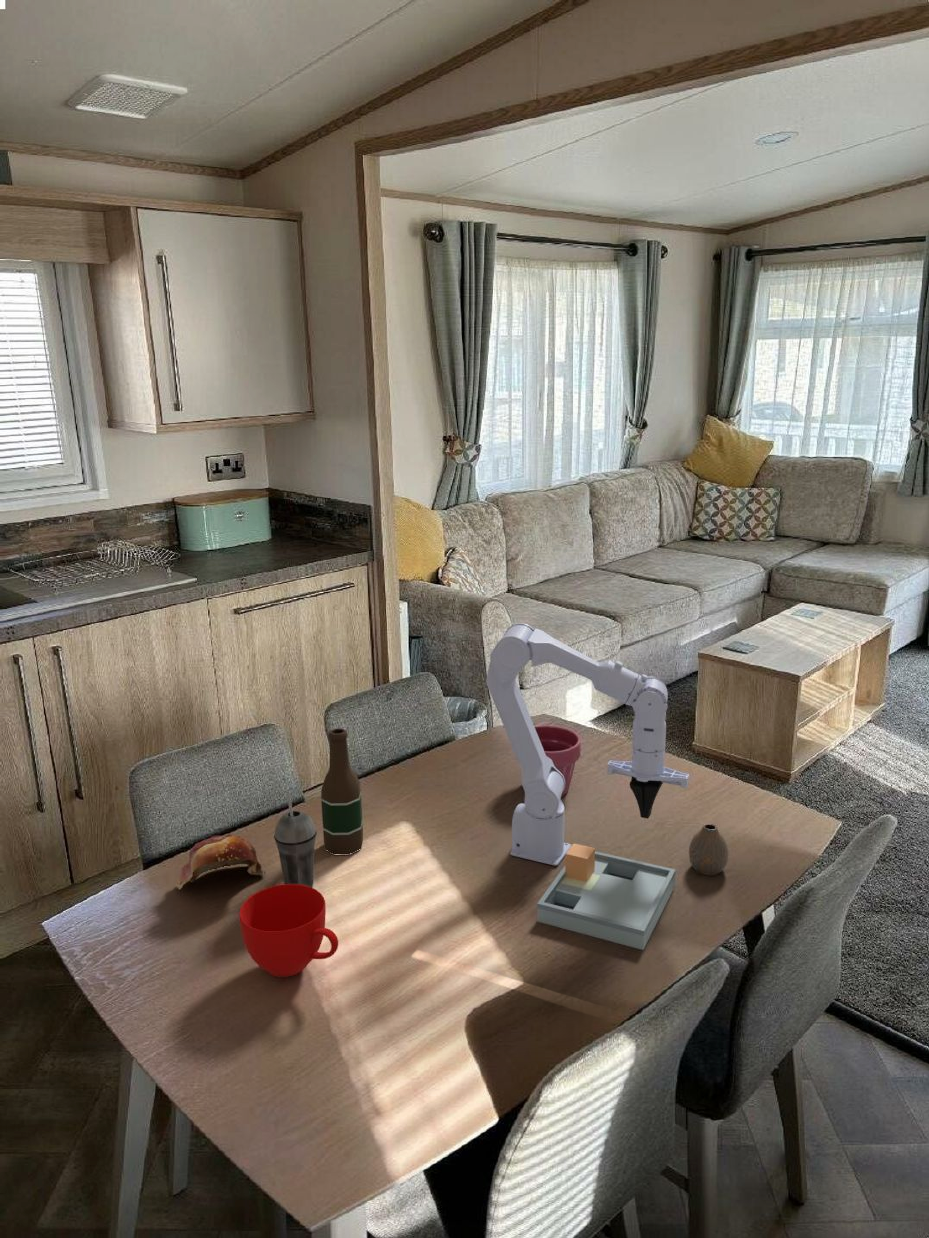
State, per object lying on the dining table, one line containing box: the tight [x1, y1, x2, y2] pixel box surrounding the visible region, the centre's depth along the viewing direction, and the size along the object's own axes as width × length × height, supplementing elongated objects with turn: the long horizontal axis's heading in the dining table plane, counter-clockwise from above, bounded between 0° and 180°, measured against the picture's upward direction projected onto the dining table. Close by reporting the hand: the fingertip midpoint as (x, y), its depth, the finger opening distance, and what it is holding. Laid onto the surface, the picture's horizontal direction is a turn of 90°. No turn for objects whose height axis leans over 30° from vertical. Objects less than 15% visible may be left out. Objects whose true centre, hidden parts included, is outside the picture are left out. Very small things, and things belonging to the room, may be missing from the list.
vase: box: [688, 823, 729, 877], centre depth 163 cm, size 7×7×9 cm
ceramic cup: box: [238, 883, 339, 978], centre depth 138 cm, size 13×17×10 cm
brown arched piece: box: [178, 833, 264, 890], centre depth 161 cm, size 16×13×10 cm
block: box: [564, 843, 596, 882], centre depth 159 cm, size 4×4×4 cm
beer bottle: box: [320, 728, 364, 855], centre depth 172 cm, size 8×8×24 cm
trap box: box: [536, 850, 677, 951], centre depth 154 cm, size 18×20×3 cm
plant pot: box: [514, 725, 582, 797], centre depth 194 cm, size 14×14×13 cm
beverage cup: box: [273, 791, 318, 888], centre depth 157 cm, size 7×7×20 cm
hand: (645, 815), depth 164 cm, fingers closed
